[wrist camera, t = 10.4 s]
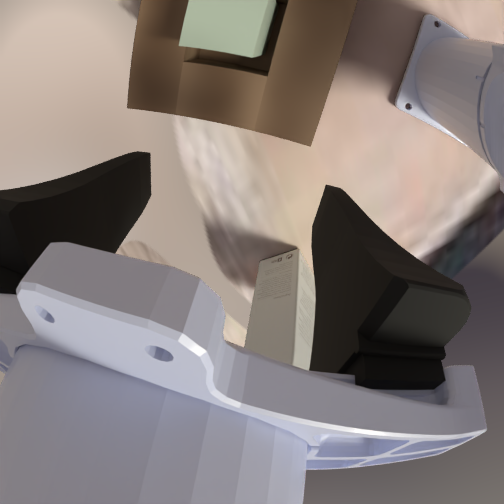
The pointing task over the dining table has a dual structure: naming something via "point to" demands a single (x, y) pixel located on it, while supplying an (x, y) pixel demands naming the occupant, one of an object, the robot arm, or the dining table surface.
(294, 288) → the skincare box
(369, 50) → the dining table surface
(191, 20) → the sage peg
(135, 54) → the walnut socket block
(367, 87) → the dining table surface
